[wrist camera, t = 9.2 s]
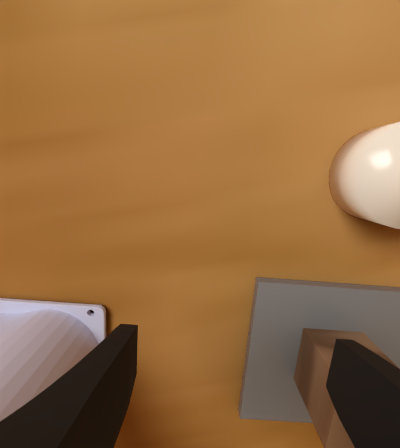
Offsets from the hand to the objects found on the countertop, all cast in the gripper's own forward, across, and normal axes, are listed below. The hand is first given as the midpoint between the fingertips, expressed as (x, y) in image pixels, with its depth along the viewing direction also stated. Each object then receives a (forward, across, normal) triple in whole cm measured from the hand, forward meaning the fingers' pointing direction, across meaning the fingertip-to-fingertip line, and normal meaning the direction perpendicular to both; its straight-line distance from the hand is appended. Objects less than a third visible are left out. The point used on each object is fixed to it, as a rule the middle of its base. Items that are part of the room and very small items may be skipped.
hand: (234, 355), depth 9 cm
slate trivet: (+9, -9, +7) cm, 15 cm away
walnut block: (+9, -9, +7) cm, 14 cm away
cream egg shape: (+10, -10, -7) cm, 16 cm away
